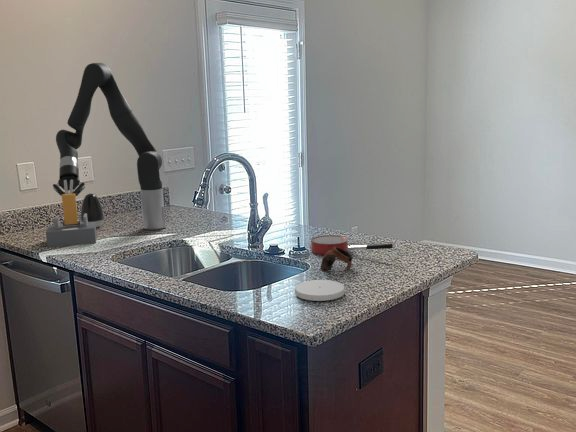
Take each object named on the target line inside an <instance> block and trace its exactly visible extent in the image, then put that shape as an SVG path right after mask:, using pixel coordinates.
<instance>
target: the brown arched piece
mask: <svg viewBox="0 0 576 432" xmlns="http://www.w3.org/2000/svg"><path fill="white" fill-rule="evenodd" d="M336 259H337V260H340V261H341V262H344V263H345V264H347V265H346V268H345V270H346V272H349V271H350V270H351V268H352V260H353V259H354V258H353V256H352V255H351V254H350V253H348V251H347V252H346V251H344V250H343V249H341V248H338V247H333V249H332V250H329V251H328V252H327V253H326V254H325V255H323V258H322V260H321V262H320V263H321V264H320V270H321V271H322V272H324V271H325V270H326V271H331V270H332V267H333V265H334V263H335V262H336ZM348 270H349V271H348Z"/></svg>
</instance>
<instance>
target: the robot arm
mask: <svg viewBox="0 0 576 432" xmlns="http://www.w3.org/2000/svg"><path fill="white" fill-rule="evenodd" d="M80 82H81V83H80V86H79V90H78V94H77V96H76V100H75V103H74V105H73V107H72V110H71V112H70V115H69V117H68V119H67V125H68V126H69V127H70V128H71V129H73V130H75V132H73V131H70V130H68V129H67V130H66V129H61V130H58V131H57V132H56V135H55V143H56V146H57V149H58V151H59V160H60V161H59V171H58V172H59V179H58V181H57V183H56V184H55V183H54V184H52V186H53V190H54V191H55V192H56V193H57V194H58V195H59V196H60V197H62V194H75V196H76V197H77V196H79V195H80V194H81V193H82V192H83V191H84V190H85V188H86V185H85V184H86V183H85V182H81V181H80V179H79V178H80V177H79V174H80V173H79V171H80V166H79V154H78V153H79V152H78V151H77V150H78V149H79V148H80V147H81V146H82V142H83V134H84V128H85V125H86V124H87V121H88V119H89V117H90V113H91V108H92V100H93V98H94V95H95V94H96V91H97V89H98V88H99V89H100V91H101V92H102V94H103V95H104V98H105V99H106V102H107V106H108V107H107V108H108V112H109V115H110V117H111V119H112V121H113V123H114V125H115V126H116V128H117V129H118V131H119V132H120V133H121V135H122V136H123V137H124V138H125V139H126V140H127V141H128V142H129V143H130V144H131V145H132V146H133V147H134V150H135V151H136V153H137V156H138V158H137V161H136V167H137V168H136V169H137V178H138V184H139V187H140V199H141V200H140V201H141V209H142V213H141V214H142V224H143V229H145V230H160V229H161V230H162V229H164V228H166V227H167V225H166V215H165V205H164V193H163V190H164V189H163V182H162V180H161V178H160V177H161V176H160V169H161V168H162V166H163V158H162V156H161V155H160V153H159V152H158V150H157V149H156V147H154V145H153V144H152V142H151V141H150V140H149V137H148V136H147V135H146V132H145V130H144V128H143V127H142V124H141V123H140V121H139V119H138V117H137V116H136V114H135V112H134V110H133V109H132V107H131V106H130V104H129V102H128V101H127V99H126V97H125V96H124V94H123V93H122V91H121V89H120V88H119V87H120V86H119V85H118V83H117V81H116V79H115V77H114V74H113V72H112V70H111V69H110V66H108V65H107V64H105V63H102V62H92V63H89V64H87V65H86V66H85V68H84V71H83V73H82V77H81V81H80ZM63 190H64V191H63Z"/></svg>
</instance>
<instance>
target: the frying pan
mask: <svg viewBox="0 0 576 432" xmlns="http://www.w3.org/2000/svg"><path fill="white" fill-rule="evenodd" d="M310 240H311V241H310V243H311V244H310V246H311V249H310V250H311V252H312V253H313V254H315V253H316V254H315V255H317V254H320V255H319V256H324V255H325V254H326V253H327V252H328V251H329V250H332V249H333V247H338V248H341V249H343V250H344V251H346V252H347V253H348V250H365V249H366V250H387V249H390V250H391V249H393V247H394V245H393V243H381V244H380V243H379V244H367V245H350V246H349V245H348V244H349V243H348V242H349V241H348V240H349V239H348V238H347V237H345V236H341V235H330V234H329V235H320V236H315V237H313V238H311V239H310Z"/></svg>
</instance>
